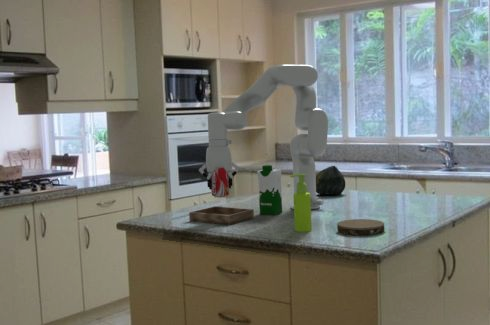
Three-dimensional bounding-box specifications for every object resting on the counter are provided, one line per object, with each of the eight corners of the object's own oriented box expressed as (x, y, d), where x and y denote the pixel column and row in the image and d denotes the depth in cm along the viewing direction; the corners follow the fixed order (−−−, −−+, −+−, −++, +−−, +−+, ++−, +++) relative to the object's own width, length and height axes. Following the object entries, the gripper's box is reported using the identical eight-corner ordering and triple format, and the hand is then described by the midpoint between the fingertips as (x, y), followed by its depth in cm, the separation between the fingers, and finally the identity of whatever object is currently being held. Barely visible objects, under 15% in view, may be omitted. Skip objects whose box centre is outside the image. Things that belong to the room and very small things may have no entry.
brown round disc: (383, 227, 221) (382, 218, 220) (385, 236, 205) (385, 227, 205) (337, 227, 223) (337, 219, 223) (337, 237, 208) (336, 228, 207)
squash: (308, 182, 308) (315, 161, 298) (336, 181, 312) (344, 160, 301) (315, 204, 299) (323, 183, 288) (344, 203, 302) (353, 182, 292)
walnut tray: (253, 218, 247) (253, 209, 247) (228, 225, 234) (228, 216, 234) (215, 214, 259) (215, 206, 259) (189, 220, 247) (189, 212, 246)
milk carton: (256, 214, 255) (254, 166, 253) (266, 210, 262) (264, 163, 261) (276, 215, 250) (274, 166, 249) (285, 211, 258) (283, 164, 257)
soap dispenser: (290, 229, 222) (288, 173, 220) (309, 228, 222) (307, 172, 221) (293, 232, 216) (291, 175, 214) (312, 231, 217) (311, 174, 215)
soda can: (227, 197, 242) (225, 167, 241) (209, 198, 243) (208, 167, 242) (231, 195, 249) (229, 165, 248) (214, 195, 250) (212, 165, 249)
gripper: (239, 142, 249) (240, 186, 250) (195, 144, 247) (197, 188, 248) (241, 143, 241) (243, 188, 243) (196, 145, 239) (198, 191, 241)
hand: (220, 188), depth 246 cm, fingers closed on soda can, 7 cm apart
